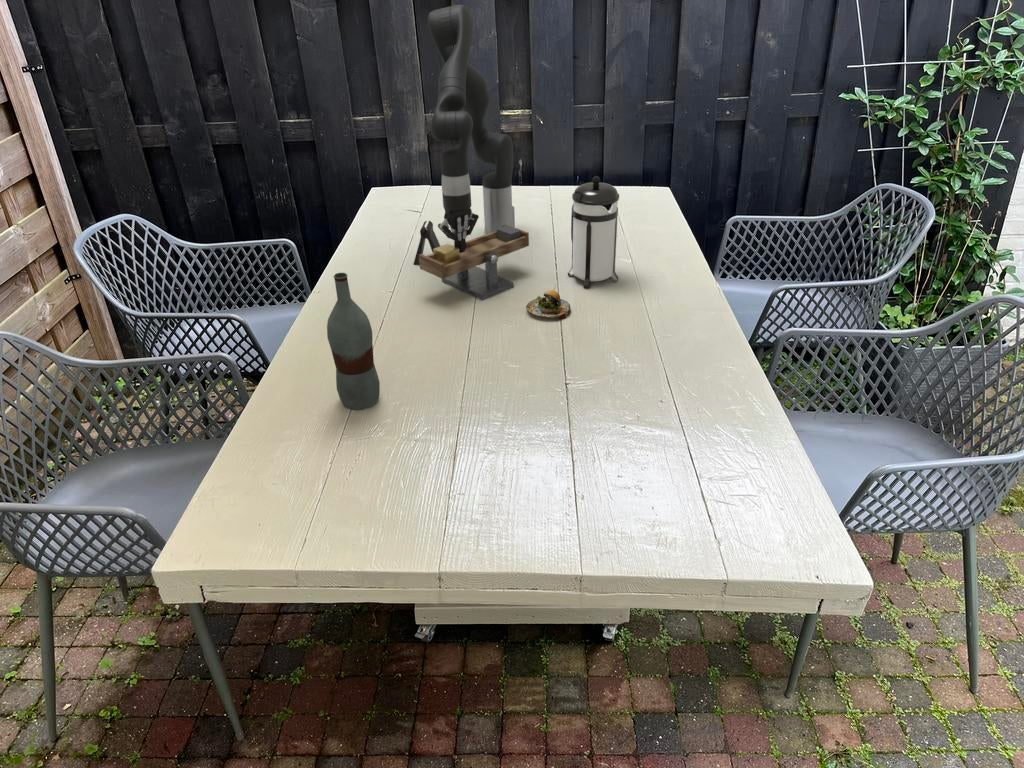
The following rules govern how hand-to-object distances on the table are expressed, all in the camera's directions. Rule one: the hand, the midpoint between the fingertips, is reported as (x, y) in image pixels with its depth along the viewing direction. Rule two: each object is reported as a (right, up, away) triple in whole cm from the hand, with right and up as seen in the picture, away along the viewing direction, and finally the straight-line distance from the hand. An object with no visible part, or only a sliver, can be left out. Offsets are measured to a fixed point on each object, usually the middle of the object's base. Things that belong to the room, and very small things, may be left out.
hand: (460, 251), depth 205 cm
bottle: (-19, -40, -41) cm, 61 cm away
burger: (+24, -18, -7) cm, 31 cm away
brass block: (-3, -3, -2) cm, 5 cm away
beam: (+4, -1, +5) cm, 6 cm away
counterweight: (+13, +6, +11) cm, 18 cm away
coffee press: (+37, -6, +11) cm, 39 cm away
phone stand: (-11, +1, +25) cm, 27 cm away
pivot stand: (+4, -8, +9) cm, 13 cm away
